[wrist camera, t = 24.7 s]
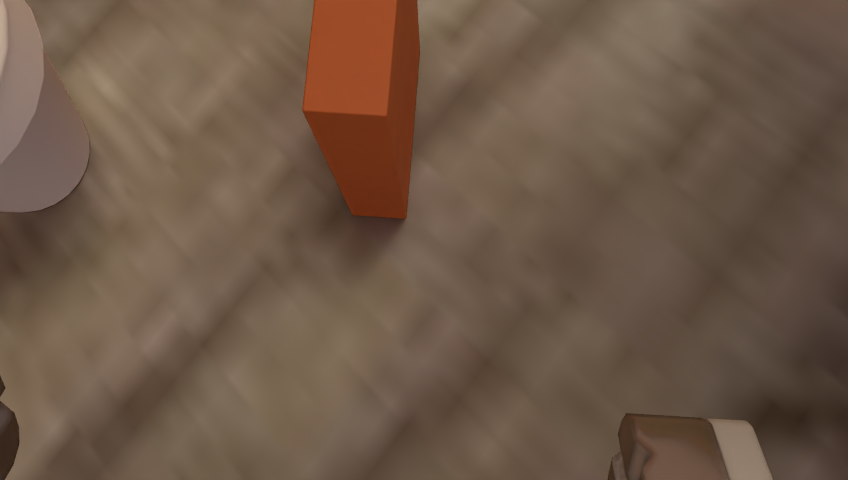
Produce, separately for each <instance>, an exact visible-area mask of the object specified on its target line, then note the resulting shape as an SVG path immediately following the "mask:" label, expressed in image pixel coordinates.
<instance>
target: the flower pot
mask: <svg viewBox="0 0 848 480" xmlns="http://www.w3.org/2000/svg"><path fill="white" fill-rule="evenodd" d="M89 155H90V148H89V137H88V134H87V131H86V128H85V125H84V123H83V121H82V120H81V118H80V116H79V114H78V112H77V110H76V108H75V106H74V105H73V103H72V101H71V99H70V97H69V95H68V93H67V91H66V90H65V88H64V86H63V84H62V82H61V80H60V78H59V77H58V75H57V73H56V71H55V69H54V67H53V65H52V63H51V62H50V60H49V58H48V56H47V54H46V52H45V50H44V48H43V42H42V39H41V36H40V33H39V30H38V27H37V24H36V21H35V18H34V15H33V12H32V10H31V9H30V7H29V6H28V4H27V3H26V2H25V0H0V212H31V211H38V210H42V209H44V208H47V207H49V206H52V205H54V204H56V203H58V202H59V201H60V200H62V199H63V198H65V197H66V196H67V195H69V194H70V192H71V191H72V190H73V189H74V188H75V187H76V186H77V184H78V183H79V182H80V180H81V178H82V176H83V174H84V172H85V170H86V168H87V163H88V159H89Z"/></svg>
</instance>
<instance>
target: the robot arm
mask: <svg viewBox="0 0 848 480" xmlns="http://www.w3.org/2000/svg"><path fill="white" fill-rule="evenodd" d="M4 390H5V386H4V383H3V381H2V379H1V376H0V396H1V395H2V393H3V392H4ZM618 436H619V442H620V447H621V452H620V453H618V454H617V455H615V456H614V457H613V458H612V460H611V465H610V470H609V474H608V480H773V478H772V475H771V473H770V470H769V467H768V465H767V462H766V460H765V457H764V455H763V452H762V450H761V447H760V444H759V442H758V439H757V437H756V434H755V432H754V429H753V427H752V426H751V425H750V424H749V423H748V422H747V421H743V420H727V419H711V418H706V419H703V418H695V417H680V416H664V415H649V414H633V413H626V414H625V416H624V418H623V419H622V422H621V425H620V429H619V433H618ZM18 446H19V426H18V423H17V420H16V417H15V414H14V412H13V411H11V410H10V409H9V408H8V407H7V406H6V405H4V404H3V403H2V402H1V401H0V480H5V478H6V476H7V475H8V473H9V471H10V470H11V468H12V466H13V464H14V461H15V457H16V454H17V450H18Z"/></svg>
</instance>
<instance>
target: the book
mask: <svg viewBox="0 0 848 480" xmlns="http://www.w3.org/2000/svg"><path fill="white" fill-rule="evenodd" d="M419 56H420V42H419V25H418V8H417V0H314V9H313V18H312V27H311V36H310V45H309V55H308V64H307V73H306V82H305V91H304V100H303V109H302V110H303V113H304V115H305V117H306V119H307V121H308V123H309V125H310V127H311V129H312V131H313V134H314V136H315V138H316V140H317V142H318V144H319V146H320V148H321V150H322V152H323V154H324V156H325V159H326V161H327V163H328V165H329V167H330V169H331V171H332V173H333V175H334V177H335V179H336V182H337V184H338V186H339V188H340V190H341V192H342V194H343V196H344V198H345V200H346V202H347V204H348V207H349V209H350V211H351V213H352V215H358V216H373V217H388V218H402V219H406V218H407V205H408V193H409V180H410V168H411V156H412V143H413V131H414V118H415V106H416V93H417V81H418V68H419Z"/></svg>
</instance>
